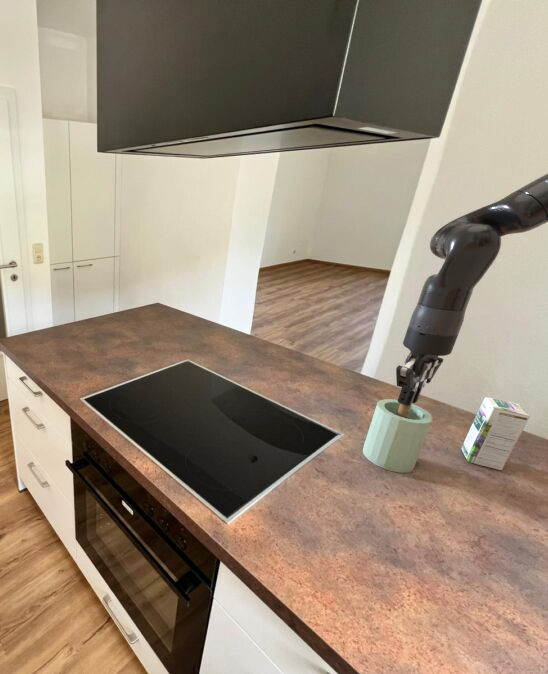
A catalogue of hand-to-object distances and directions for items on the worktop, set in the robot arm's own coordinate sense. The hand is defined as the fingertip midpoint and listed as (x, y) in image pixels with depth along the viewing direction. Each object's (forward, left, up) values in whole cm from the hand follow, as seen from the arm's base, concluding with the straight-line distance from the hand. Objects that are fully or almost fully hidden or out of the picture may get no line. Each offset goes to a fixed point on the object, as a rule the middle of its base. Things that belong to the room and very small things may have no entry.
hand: (406, 402), depth 78 cm
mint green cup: (0, 0, -15) cm, 15 cm away
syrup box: (-20, -6, -15) cm, 26 cm away
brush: (0, 0, -10) cm, 10 cm away
